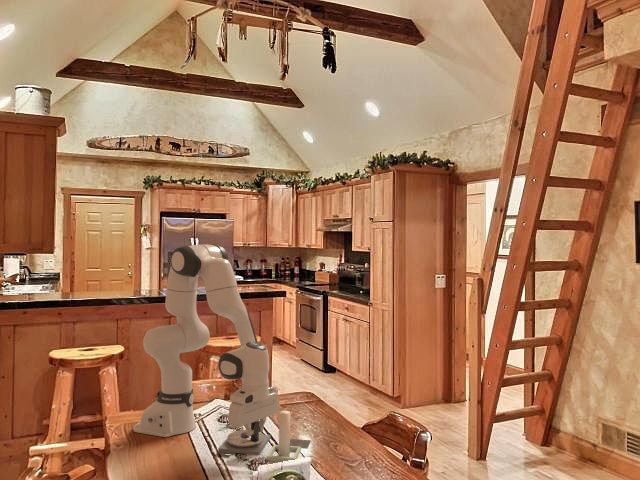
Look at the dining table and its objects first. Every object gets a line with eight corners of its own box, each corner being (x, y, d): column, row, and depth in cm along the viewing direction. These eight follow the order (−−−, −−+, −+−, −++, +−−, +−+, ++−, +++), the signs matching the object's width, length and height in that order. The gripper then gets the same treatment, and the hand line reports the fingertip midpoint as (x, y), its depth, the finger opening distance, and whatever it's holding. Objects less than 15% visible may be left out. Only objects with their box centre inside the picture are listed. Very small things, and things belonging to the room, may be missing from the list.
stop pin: (277, 457, 159) (278, 413, 159) (280, 452, 162) (280, 410, 162) (288, 458, 158) (289, 414, 158) (290, 453, 162) (291, 410, 162)
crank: (242, 451, 160) (243, 428, 160) (220, 440, 168) (220, 418, 168) (271, 440, 168) (271, 418, 168) (248, 431, 177) (248, 410, 177)
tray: (266, 463, 156) (266, 456, 156) (273, 451, 165) (274, 444, 165) (295, 465, 155) (295, 458, 155) (300, 453, 164) (300, 446, 164)
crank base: (218, 454, 163) (218, 447, 163) (232, 438, 176) (232, 431, 176) (259, 457, 160) (259, 451, 160) (270, 440, 174) (270, 434, 174)
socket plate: (287, 449, 167) (287, 446, 167) (291, 441, 174) (291, 438, 174) (307, 451, 166) (307, 448, 166) (311, 443, 172) (311, 440, 172)
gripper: (271, 383, 175) (270, 422, 175) (225, 396, 160) (225, 439, 159) (283, 386, 171) (283, 426, 171) (238, 400, 156) (238, 445, 155)
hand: (255, 433), depth 165 cm, fingers open, 3 cm apart
